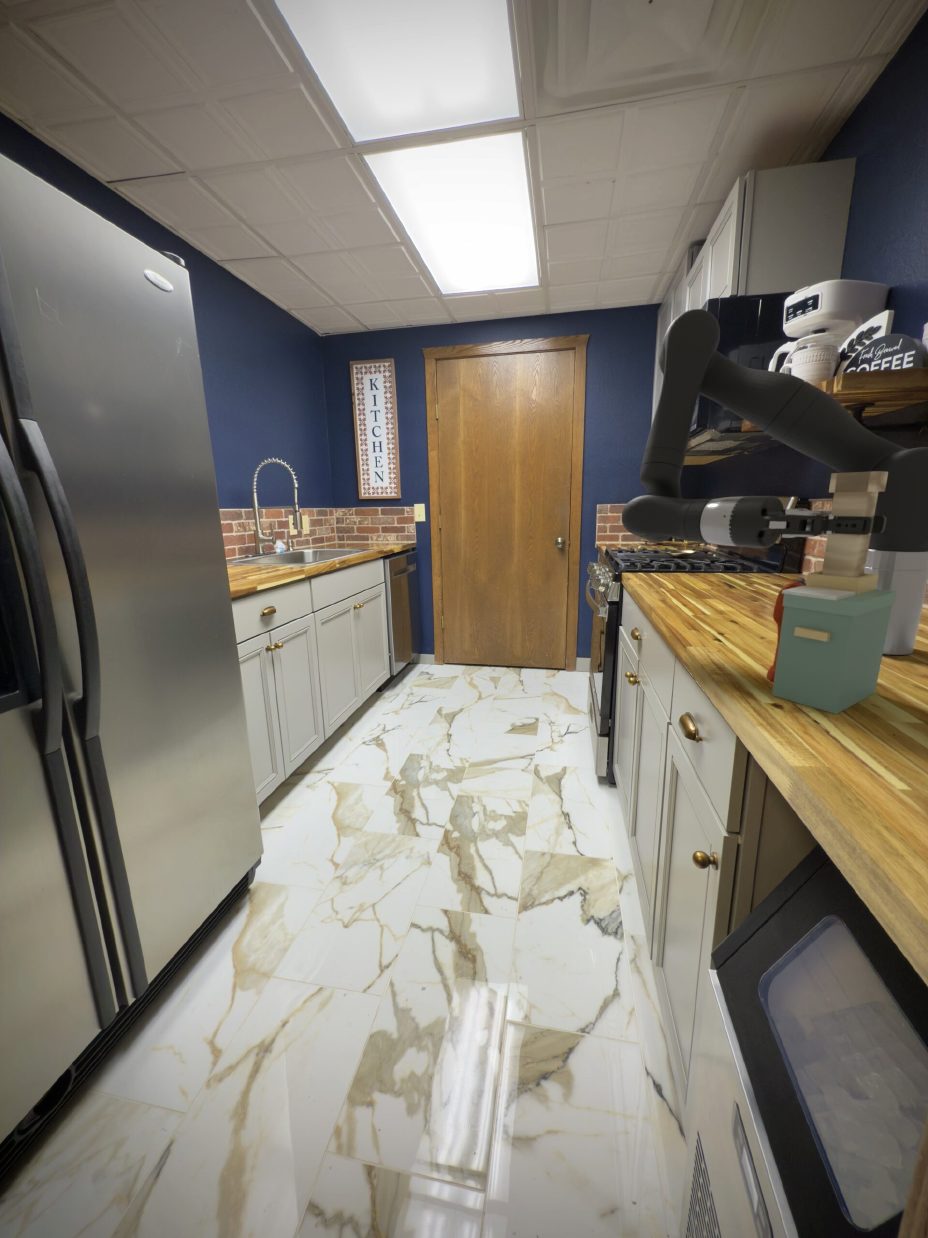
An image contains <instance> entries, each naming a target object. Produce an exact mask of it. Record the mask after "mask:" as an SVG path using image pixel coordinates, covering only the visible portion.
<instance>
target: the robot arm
mask: <svg viewBox="0 0 928 1238" xmlns="http://www.w3.org/2000/svg"><path fill="white" fill-rule="evenodd" d="M720 338H721V328H720V323H719V321H718V319H717V317H715V315H714V314H713V313H712V312H710V311H708V310H707V309H706V310H705V309H701V308H695V309H694V308H693V309H690V310H687V311H684V312H682V313H681V314H680V315H678V316H677V317H676V318H675V319H673V321H672V322H671V323H670V325H669V326H668V328H667V329H666V332H665V333H664V336H663V339H662V344H661V349H660V352H659V357H658V365H659V368H660V369H659V370H660V372H662V374H663V379H662V385H661V390H660V394H659V398H658V403H657V407H656V410H655V412H654V413H655V414H654V417H653V420H652V423H651V427H650V430H649V434H648V436H647V437H648V438H647V441H646V445H645V448H644V454H643V458H642V463H641V467H640V472H639V481H640V484H641V485H642V486H643V487H644V488H645V489H646V492H647V494H646V495H645V494H644V495H640V496H637V497H634V498H633V499H631V500H630V501H628V502H627V503H626V504H625V506H624V507H623V508H622V511H621V517H620V518H621V522H622V523H621V524H622V525H623V528H625V530H626V531H627V532H628V533H630V534H632V535H634V536H636V537H639V538H641V539H645V540H646V541H649V542H651V543H662V542H665V541H667V540H670V538H671V537H672V538H676V539H678V540H681V541H686V542H693V543H708V544H709V543H710V544H715V545H718V546H719V545H720V546H731V547H744V548H746V547H747V548H758V549H767V548H771V547H772V546H774V545H775V544H776V542H778V540H779V538H783V539H786V538H787V539H789V538H797V537H798V538H801V537H802V538H812V537H813V538H815V537H818V536H820V537H821V536H822V537H824V536H828V535H830V534H833V533H834V534H858V535H867V534H870V533H871V537H870V542H869V548H868V554H867V559H866V565H865V571H864V573H869V574H879V575H878V580H877V586H876V589H878V590H887V591H895V592H896V596H895V601H894V604H892V607H891V612H890V618H889V623H888V628H887V633H886V638H885V644H884V649H883V654H882V655H893V656H894V655H896V656H899V655H900V656H903V655H904V656H906V655H911V654H912V653H914V648H915V644H916V639H917V634H918V630H919V625H920V621H921V614H922V611H923V607H924V600H925V596H926V592H927V585H928V447H927V446H921V447H915V448H906V447H904V446H901V445H899V444H896V443H894V442H892V441H889V440H888V439H885V438H884V437H881V436H879V435H877V434H876V433H874V432H871V431H870V430H869V429H867V428H866V427H865V426H863V425H862V424H861V423H859V421H858V420H857V419H856V418H855V417H854V416H853V415H852V414H851V413H850V412H849V410H847V409H846V407H844V406H843V405H842V404H841V403H840V402H839V401H838V400H836V399H835V398H834V397H832V396H831V395H830V394H828V393H827V392H825V391H824V390H822V389H820V388H819V387H817V386H815V385H813V384H812V383H810V382H808V381H806V380H804V379H803V378H800V377H798V376H796V375H794V374H790V373H785V372H780V371H779V372H778V371H774V370H764V369H756V368H750V367H747V366H744V365H741V364H739V363H737V362H735V361H734V360H732V359H730V358H729V357H727V356H725V355H724V354H722V353H721V352H719V351H718V350H717V349H718V346H719V343H720ZM699 395H701V396H703V397H705V398H707V399H709V400H712V401H713V402H715V403H717V404H719V405H720V406H722V407H724V408H725V409H726V410H729V411H730V412H731V413H733V414H735V415H737V416H738V417H740V418H741V419H743V420H745V421H747V423H750V424H751V425H753V426H754V427H756V428H757V429H759V430H760V431H762V432H763V433H765V434H767V435H769V436H770V437H772V438H774V439H775V440H777V441H779V442H781V443H782V444H784V445H786V446H788V447H790V448H792V449H793V450H795V451H798V453H801V454H802V455H805V456H807V457H809V458H811V459H812V460H816V461H817V462H820V463H822V464H824V465H826V466H828V467H830V468H832V469H833V470H835V471H836V472H837V473H851V472H872V471H883V472H888V476H887V482H886V488H885V491H884V492H878V497H877V503H876V508H875V514H874V519H873V518H872V517H866V516H837V519H836V515H833V514H831V511H832V510H822V509H821V510H816V509H815V510H813V509H812V510H809V509H807V508H784V505H783V502H782V501H781V499H780V498H779V497H777V496H773V495H770V496H769V495H767V496H766V495H765V496H764V495H763V496H762V495H761V496H760V495H759V496H728V497H726V496H725V497H719V498H695V499H685V498H684V499H683V498H681V494H682V493H681V475H682V471H683V468H684V463H685V459H686V456H687V455H686V454H687V450H688V445H689V439H690V434H691V429H692V424H693V419H694V415H695V409H696V405H697V401H698V397H699ZM834 531H835V532H834Z"/></svg>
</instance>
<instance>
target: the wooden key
mask: <svg viewBox="0 0 928 1238" xmlns="http://www.w3.org/2000/svg"><path fill="white" fill-rule="evenodd" d="M887 476H888V472H883V471H872V472H851V473H839V472H834V473H833V472H832V473H831V475H830V481H829V487H828V488H829V489H828V493H833V499H832V505H831V510H830V511H831V514H833V515H836V519H837V516H866V517H872V518H873V519H874V514H875V508H876V503H877V497H878V492H884V491H885V488H886V482H887ZM834 532H835V531H834ZM870 537H871V533H870V534H867V535H858V534H834V533H833V534H830V535H827V538H826V543H825V551H824V557H823V564H822V570H821V571H822V574H824V575H835V576H845V577H855V578H856V577H860V576H864V571H865V565H866V559H867V554H868V548H869V542H870Z"/></svg>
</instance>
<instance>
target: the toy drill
mask: <svg viewBox="0 0 928 1238" xmlns="http://www.w3.org/2000/svg"><path fill="white" fill-rule="evenodd" d="M799 586H806V579H805V578H804V577H802V576H801V577H799V578H798V579H797V580H795V581H792V582H789V583H786V584H785V585H784V586H783V587H781V589H780V591H779V592H778V595H777V597H776V600H775V604H774V609H773V612H772V618H773V621H774V622H775V624H776V625H777V638H776V639H777V644H776V648H775V653H774V659H773V664H772V665H771V666H770V667H769V669H768V671H767V673H766V679H767V680H768V681H769V682H771V683H773V684H774V676H775V669H776V662H777V655H778V648H779V640H780V633H781V626H782V619H783V611H784V606H782V605H783V598H784V594H783V593H782V590H786V589H790V588H795V587H799Z"/></svg>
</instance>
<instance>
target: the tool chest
mask: <svg viewBox="0 0 928 1238" xmlns="http://www.w3.org/2000/svg"><path fill="white" fill-rule="evenodd" d="M878 575H879V574H869V573H864V576H860V577H856V578H855V577H845V576H835V575H824V574H822V570H820V571H813V572H808V573H807V575H806V580H805V584H806V586H799V587H795V588H790V589H786V590H782V593H783V594H784V598H783V605H782V606H784V611H783V619H782V626H781V633H780V640H779V648H778V655H777V662H776V669H775V676H774V683H773V685H772V691H771V692H772V693H771V696H774V697H777V698H780V699H783V700H787V701H790V702H794V703H798V704H801V705H804V706H807V707H811V708H814V709H816V710H820V711H824V712H828V713H831V714H834V715H838V714H839V713H841V712H842V711H845V710H846V709H847V710H848V708H851V707H852V706H854V705H856V704H858V703H860V702H861V701H863V700H865V699H866V698H868V697H871V696H872V695H874V694H876V690H877V685H878V680H879V676H880V668H881V664H882V658H883V655H884V654H883V649H884V644H885V638H886V633H887V628H888V623H889V618H890V612H891V607H892V604H894V601H895V596H896V592H895V591H887V590H878V589H876V586H877V580H878Z"/></svg>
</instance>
